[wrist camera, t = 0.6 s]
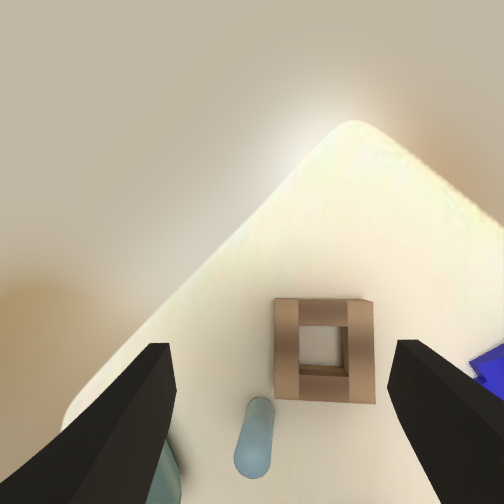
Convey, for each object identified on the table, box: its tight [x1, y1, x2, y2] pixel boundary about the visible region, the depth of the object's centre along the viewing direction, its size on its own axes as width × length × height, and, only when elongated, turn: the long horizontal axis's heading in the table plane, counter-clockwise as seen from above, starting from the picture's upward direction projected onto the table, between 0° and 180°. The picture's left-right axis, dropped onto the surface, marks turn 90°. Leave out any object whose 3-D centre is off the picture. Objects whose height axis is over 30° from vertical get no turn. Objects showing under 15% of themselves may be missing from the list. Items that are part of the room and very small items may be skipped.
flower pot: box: [146, 440, 181, 504], centre depth 27 cm, size 9×9×9 cm
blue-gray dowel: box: [234, 397, 275, 479], centre depth 26 cm, size 3×3×8 cm
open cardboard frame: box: [274, 298, 376, 404], centre depth 29 cm, size 9×9×3 cm
